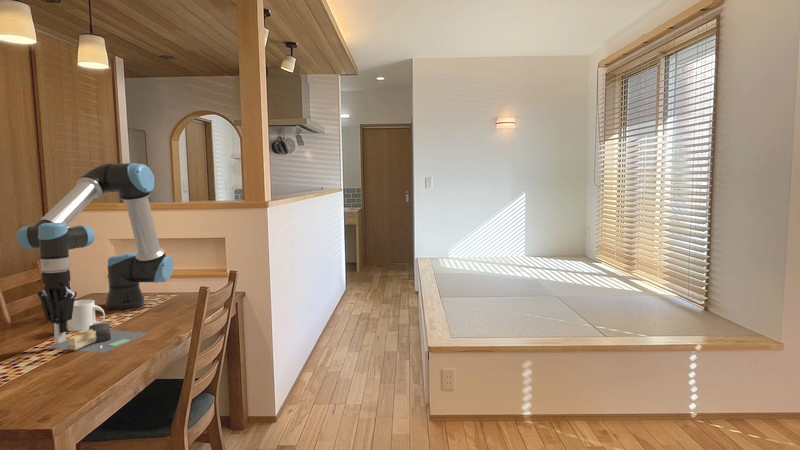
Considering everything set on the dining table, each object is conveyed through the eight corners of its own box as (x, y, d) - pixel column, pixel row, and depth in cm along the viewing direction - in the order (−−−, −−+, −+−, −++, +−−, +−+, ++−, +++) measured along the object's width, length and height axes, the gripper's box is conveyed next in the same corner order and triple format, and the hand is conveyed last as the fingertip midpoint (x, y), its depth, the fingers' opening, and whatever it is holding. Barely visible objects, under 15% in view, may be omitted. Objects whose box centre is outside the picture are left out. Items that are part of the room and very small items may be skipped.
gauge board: (97, 332, 173) (97, 328, 173) (149, 336, 169) (149, 332, 169) (46, 351, 154) (46, 347, 154) (104, 356, 150) (104, 352, 149)
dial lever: (100, 336, 165) (99, 322, 164) (114, 337, 164) (114, 323, 163) (61, 351, 150) (60, 336, 150) (77, 352, 149) (76, 337, 149)
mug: (101, 332, 173) (99, 304, 172) (64, 335, 170) (62, 306, 169) (109, 325, 182) (107, 298, 180) (73, 328, 178) (71, 300, 177)
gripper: (27, 272, 150) (33, 344, 152) (62, 273, 147) (67, 347, 149) (49, 268, 157) (54, 336, 159) (82, 269, 154) (87, 339, 157)
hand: (60, 341), depth 154 cm, fingers closed
